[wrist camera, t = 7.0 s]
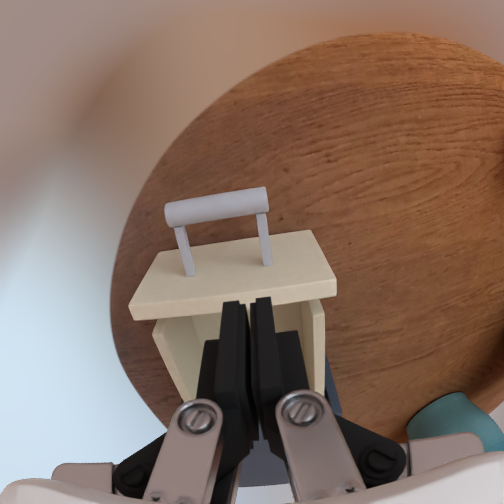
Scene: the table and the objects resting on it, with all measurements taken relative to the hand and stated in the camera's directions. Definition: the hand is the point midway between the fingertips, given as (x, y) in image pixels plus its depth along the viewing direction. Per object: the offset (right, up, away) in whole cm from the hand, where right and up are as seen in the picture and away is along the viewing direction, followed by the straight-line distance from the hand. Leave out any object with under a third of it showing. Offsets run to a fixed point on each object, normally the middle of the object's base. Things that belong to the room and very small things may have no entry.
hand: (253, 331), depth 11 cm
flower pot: (+32, -25, +28) cm, 49 cm away
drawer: (-1, -1, +15) cm, 15 cm away
